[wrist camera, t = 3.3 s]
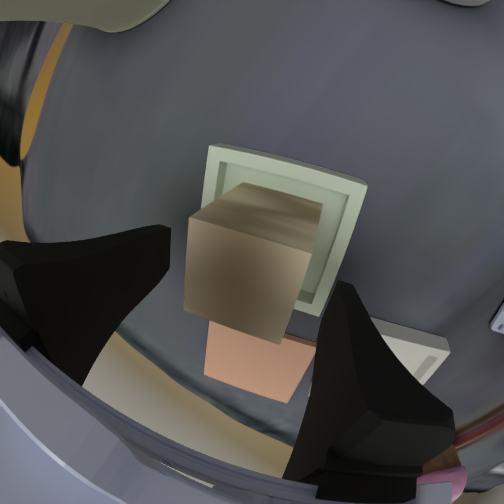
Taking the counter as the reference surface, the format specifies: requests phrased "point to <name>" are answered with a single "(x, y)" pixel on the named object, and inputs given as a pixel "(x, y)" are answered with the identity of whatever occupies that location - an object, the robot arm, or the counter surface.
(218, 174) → the sage green tray
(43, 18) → the can
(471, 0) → the milk bottle
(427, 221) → the counter surface
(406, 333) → the light grey tray
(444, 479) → the cupcake
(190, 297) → the brown block
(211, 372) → the terracotta pad
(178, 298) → the counter surface
